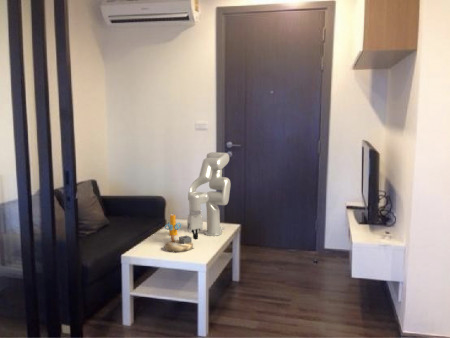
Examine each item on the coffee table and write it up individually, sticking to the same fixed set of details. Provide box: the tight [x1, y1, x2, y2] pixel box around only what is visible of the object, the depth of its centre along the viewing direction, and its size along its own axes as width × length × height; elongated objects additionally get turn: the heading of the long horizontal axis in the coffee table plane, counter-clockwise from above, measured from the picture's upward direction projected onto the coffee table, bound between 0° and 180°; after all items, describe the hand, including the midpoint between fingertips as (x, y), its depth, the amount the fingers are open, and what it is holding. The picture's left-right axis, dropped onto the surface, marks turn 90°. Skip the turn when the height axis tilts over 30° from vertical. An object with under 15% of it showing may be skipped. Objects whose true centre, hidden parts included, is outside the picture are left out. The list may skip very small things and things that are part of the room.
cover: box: [178, 235, 193, 244], centre depth 285 cm, size 6×6×4 cm
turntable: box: [164, 235, 194, 253], centre depth 282 cm, size 18×18×6 cm
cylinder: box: [164, 213, 182, 237], centre depth 314 cm, size 12×10×15 cm
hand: (195, 238), depth 290 cm, fingers closed
